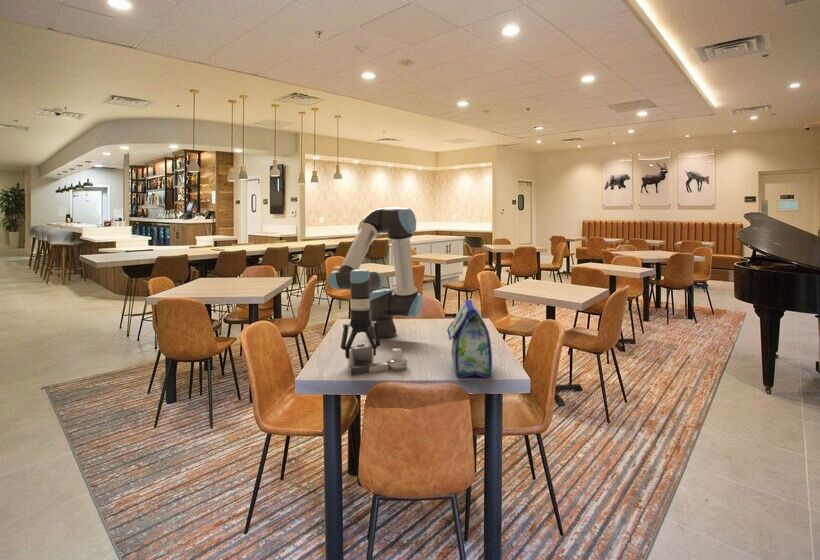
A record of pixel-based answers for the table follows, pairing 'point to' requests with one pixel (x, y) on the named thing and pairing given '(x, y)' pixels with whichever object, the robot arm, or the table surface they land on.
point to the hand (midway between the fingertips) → (360, 364)
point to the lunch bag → (470, 343)
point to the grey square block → (361, 354)
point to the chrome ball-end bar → (381, 365)
